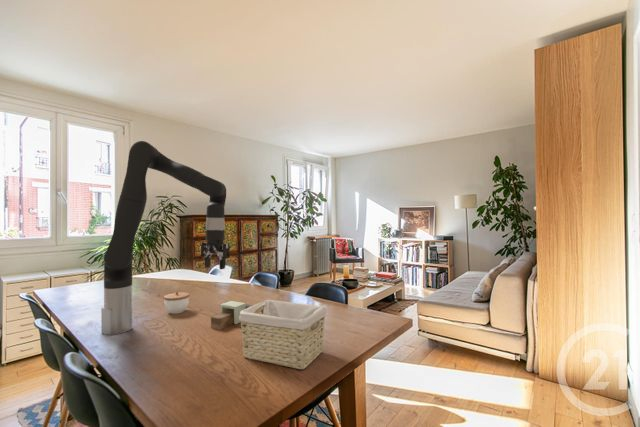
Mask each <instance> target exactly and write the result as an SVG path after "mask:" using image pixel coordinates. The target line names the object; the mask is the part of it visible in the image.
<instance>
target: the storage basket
mask: <svg viewBox="0 0 640 427" xmlns="http://www.w3.org/2000/svg"><path fill="white" fill-rule="evenodd" d="M326 310H327V309H326V307H325V306H324V305H321V306H320V305H314V304H308V303H297V302H291V301H290V302H288V301H282V300H275V299H265V300H263V301H260V302H258V303H256V304H253V306H251V307H249V308H246V309H244V310H242V311H241V312H240V316H239V321H240V330H241V343H242V352H243V354H242V355H243V357H244V358H247V359H250V360H254V361H259V362H263V363H269V364H274V365H277V366H282V367H283V366H284V367H286V368H287V367H289V368H292V369H296V370H297V369H298V370H305V369H306V368H308V366H309V365H310V364H311V363H313V361H314V360H316V359H317V357H319V356H320V354H321V353H322V352H323V349H324V337H325V335H324V332H325V322H326V321H325V320H326V319H325V318H326V316H327V311H326Z"/></svg>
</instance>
